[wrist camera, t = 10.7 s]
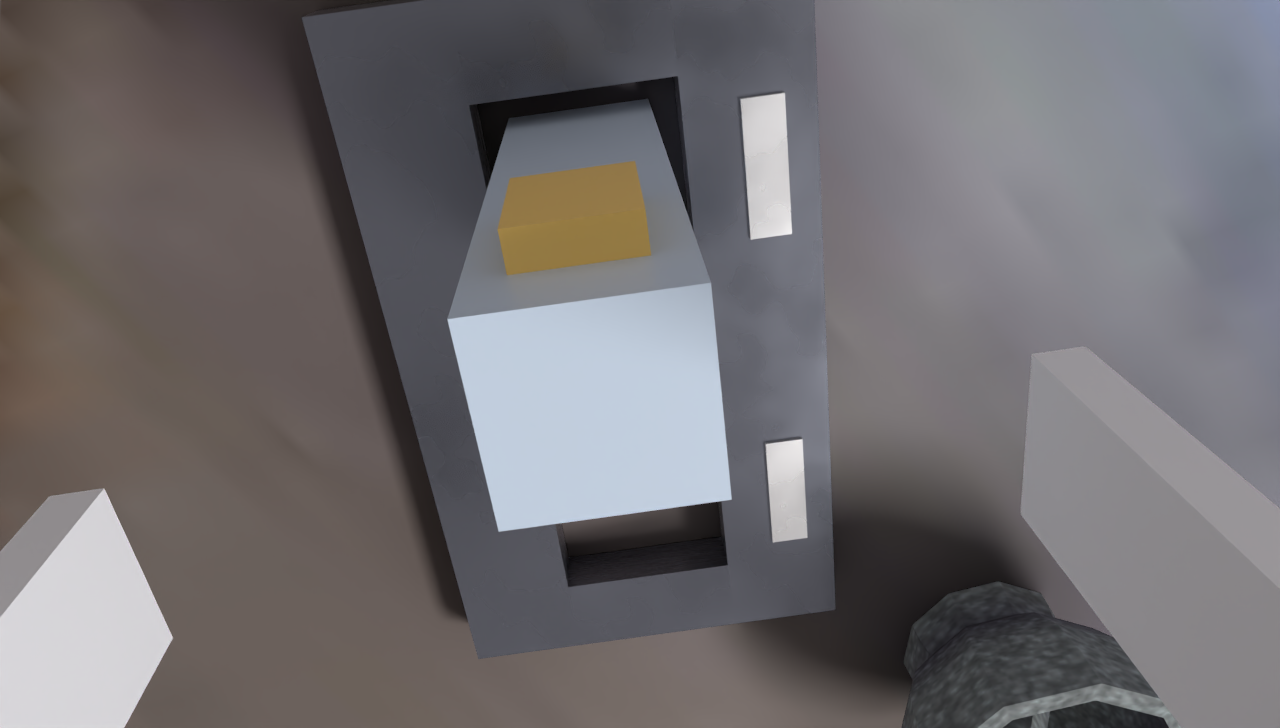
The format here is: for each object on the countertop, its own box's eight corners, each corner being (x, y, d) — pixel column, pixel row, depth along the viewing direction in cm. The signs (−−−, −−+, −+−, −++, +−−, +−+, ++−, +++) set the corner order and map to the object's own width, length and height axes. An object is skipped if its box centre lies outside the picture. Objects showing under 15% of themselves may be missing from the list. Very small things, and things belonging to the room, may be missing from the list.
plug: (533, 249, 28) (498, 531, 16) (503, 89, 26) (435, 269, 14) (663, 231, 28) (731, 499, 16) (644, 69, 26) (706, 231, 14)
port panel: (825, 580, 35) (836, 611, 33) (482, 627, 35) (478, 660, 33) (798, -57, 25) (813, -54, 23) (317, 10, 25) (300, 18, 23)
